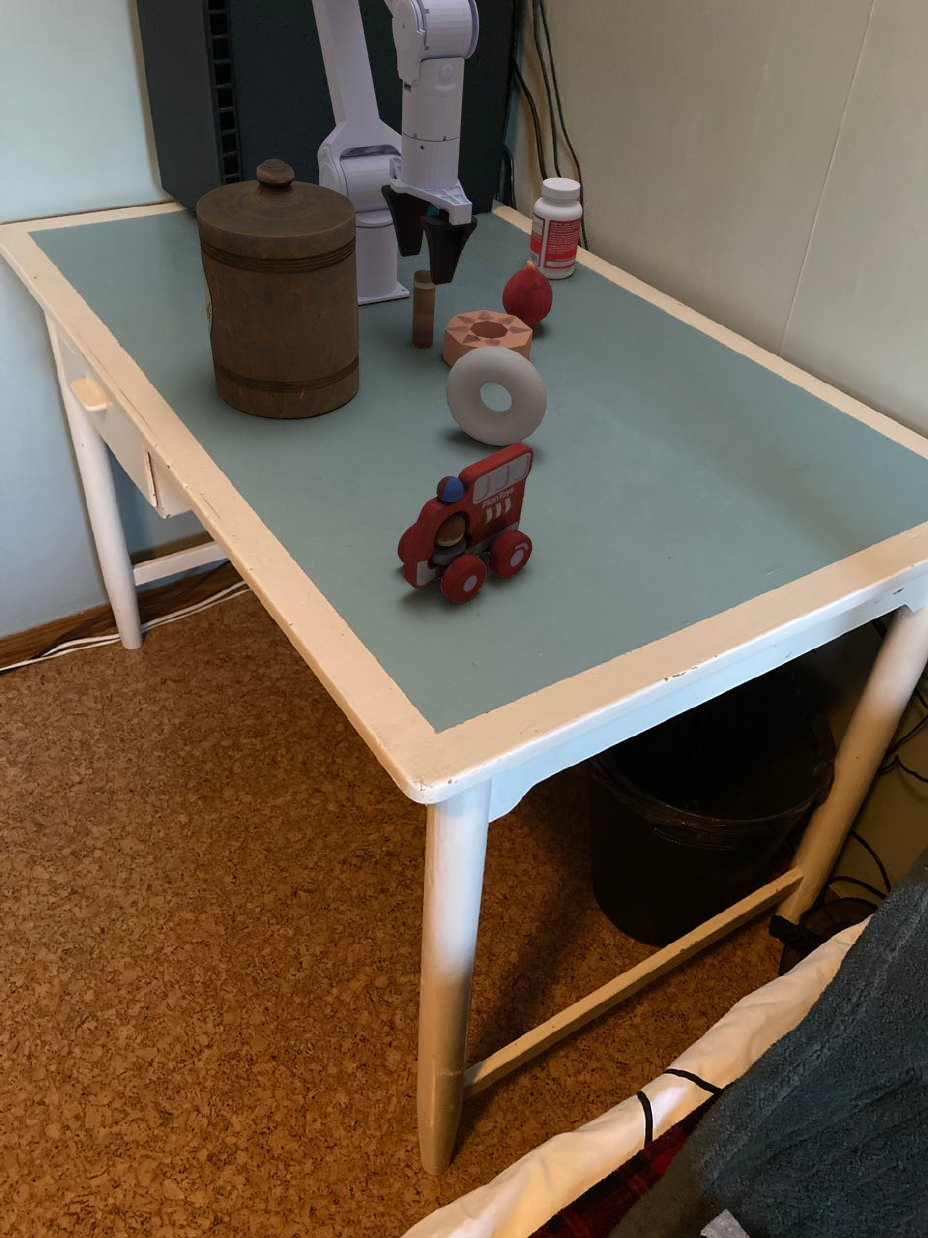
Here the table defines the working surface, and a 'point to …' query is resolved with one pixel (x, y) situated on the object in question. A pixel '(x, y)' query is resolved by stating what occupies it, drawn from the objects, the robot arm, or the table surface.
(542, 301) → the onion
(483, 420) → the donut
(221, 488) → the table surface
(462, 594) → the toy fire truck
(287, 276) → the wooden container
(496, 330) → the orange octagonal ring
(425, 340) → the case
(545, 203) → the pill bottle
